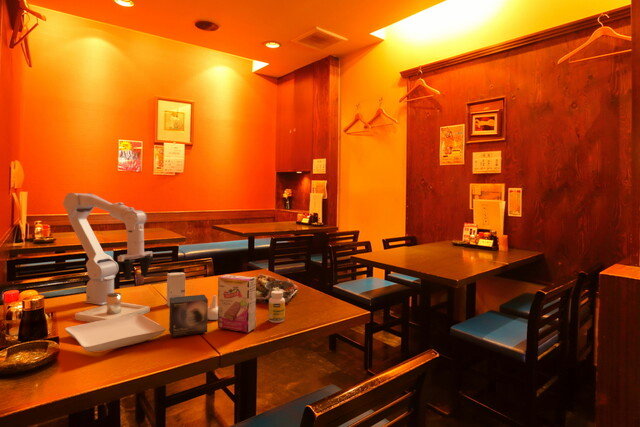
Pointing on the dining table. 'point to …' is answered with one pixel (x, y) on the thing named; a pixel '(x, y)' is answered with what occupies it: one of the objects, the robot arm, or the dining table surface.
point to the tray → (101, 314)
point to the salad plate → (115, 332)
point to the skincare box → (175, 285)
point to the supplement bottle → (276, 307)
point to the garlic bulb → (213, 309)
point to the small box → (188, 315)
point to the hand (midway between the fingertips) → (136, 277)
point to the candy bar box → (236, 303)
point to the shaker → (113, 303)
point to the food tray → (273, 288)
